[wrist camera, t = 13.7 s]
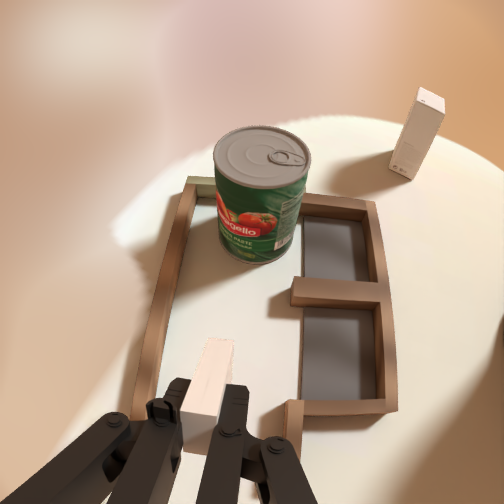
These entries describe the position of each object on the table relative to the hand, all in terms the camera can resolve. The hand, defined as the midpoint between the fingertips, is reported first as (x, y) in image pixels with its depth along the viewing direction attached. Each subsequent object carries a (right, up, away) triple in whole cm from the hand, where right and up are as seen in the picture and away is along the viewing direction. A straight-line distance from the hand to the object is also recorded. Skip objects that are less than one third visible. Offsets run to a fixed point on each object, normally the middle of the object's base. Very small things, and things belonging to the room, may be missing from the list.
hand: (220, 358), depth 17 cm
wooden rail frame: (+4, 0, +11) cm, 11 cm away
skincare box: (+24, +19, +24) cm, 39 cm away
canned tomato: (+2, +8, +16) cm, 18 cm away
